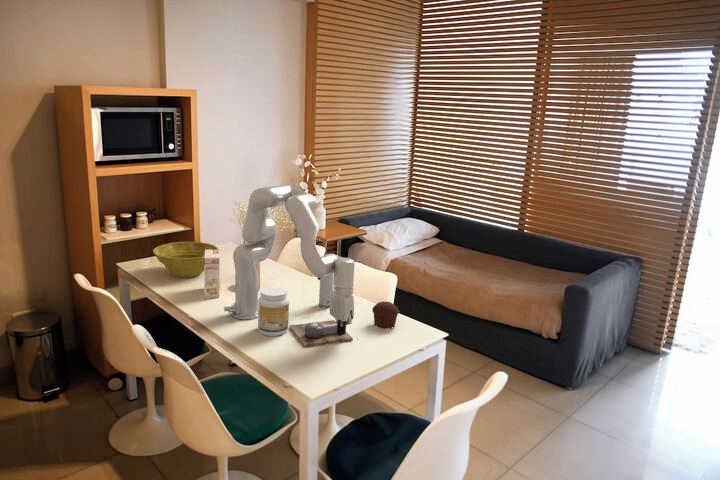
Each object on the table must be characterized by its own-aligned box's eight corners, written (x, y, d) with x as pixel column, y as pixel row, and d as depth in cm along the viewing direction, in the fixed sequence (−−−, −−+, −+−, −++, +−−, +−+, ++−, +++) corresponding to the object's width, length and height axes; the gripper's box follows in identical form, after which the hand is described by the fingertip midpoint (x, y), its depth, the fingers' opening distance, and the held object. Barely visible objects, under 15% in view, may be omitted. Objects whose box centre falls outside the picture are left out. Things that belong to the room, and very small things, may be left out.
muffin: (365, 324, 226) (367, 302, 223) (381, 317, 234) (383, 296, 232) (387, 332, 218) (389, 310, 216) (403, 325, 227) (405, 303, 224)
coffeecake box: (219, 298, 245) (219, 257, 240) (203, 298, 243) (203, 257, 239) (220, 287, 259) (220, 249, 254) (205, 287, 257) (204, 249, 253)
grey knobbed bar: (308, 339, 203) (308, 329, 202) (302, 332, 209) (302, 322, 208) (347, 334, 210) (347, 324, 209) (340, 327, 216) (341, 317, 215)
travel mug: (331, 309, 240) (333, 267, 235) (317, 307, 241) (319, 265, 237) (334, 304, 246) (336, 263, 241) (320, 302, 247) (322, 261, 243)
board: (304, 347, 200) (304, 344, 200) (289, 328, 216) (289, 325, 216) (352, 340, 208) (352, 337, 208) (334, 322, 225) (334, 319, 225)
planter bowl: (181, 288, 254) (180, 261, 251) (140, 274, 271) (139, 248, 268) (231, 273, 281) (231, 249, 278) (190, 261, 298) (190, 238, 294)
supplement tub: (292, 334, 211) (294, 294, 207) (263, 339, 205) (264, 298, 201) (281, 323, 221) (282, 284, 217) (253, 327, 215) (254, 288, 211)
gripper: (323, 286, 205) (322, 330, 210) (348, 297, 194) (345, 343, 199) (339, 283, 210) (337, 326, 214) (363, 293, 199) (360, 338, 203)
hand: (341, 334), depth 206 cm, fingers closed
